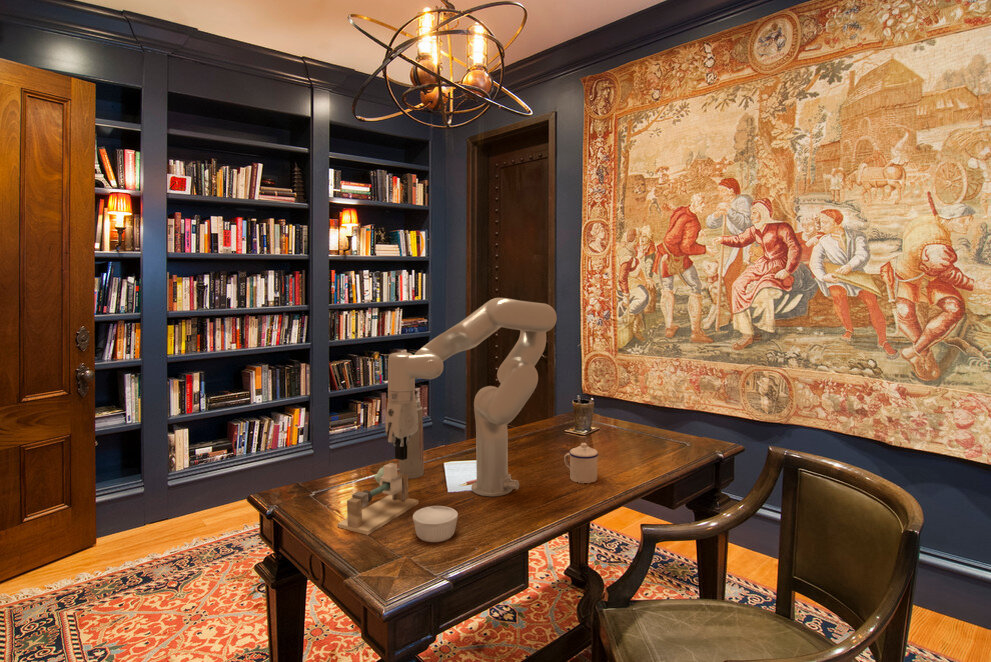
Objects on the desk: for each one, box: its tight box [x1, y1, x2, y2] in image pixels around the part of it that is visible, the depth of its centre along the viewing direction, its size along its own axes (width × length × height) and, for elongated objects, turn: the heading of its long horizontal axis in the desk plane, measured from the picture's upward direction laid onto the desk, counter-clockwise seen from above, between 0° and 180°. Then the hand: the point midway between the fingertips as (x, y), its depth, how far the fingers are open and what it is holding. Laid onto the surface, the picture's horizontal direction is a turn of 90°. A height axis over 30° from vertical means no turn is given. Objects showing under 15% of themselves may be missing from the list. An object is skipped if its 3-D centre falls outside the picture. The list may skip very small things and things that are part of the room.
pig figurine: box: [373, 466, 399, 486], centre depth 168 cm, size 8×4×7 cm, turn 137°
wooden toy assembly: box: [336, 473, 419, 536], centre depth 149 cm, size 22×10×9 cm, turn 153°
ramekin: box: [412, 505, 459, 543], centre depth 137 cm, size 11×11×5 cm
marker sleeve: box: [379, 462, 402, 495], centre depth 153 cm, size 4×5×8 cm
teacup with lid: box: [563, 442, 599, 484], centre depth 176 cm, size 12×9×12 cm
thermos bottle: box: [398, 389, 425, 480], centre depth 179 cm, size 8×8×28 cm
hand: (401, 458), depth 157 cm, fingers closed
